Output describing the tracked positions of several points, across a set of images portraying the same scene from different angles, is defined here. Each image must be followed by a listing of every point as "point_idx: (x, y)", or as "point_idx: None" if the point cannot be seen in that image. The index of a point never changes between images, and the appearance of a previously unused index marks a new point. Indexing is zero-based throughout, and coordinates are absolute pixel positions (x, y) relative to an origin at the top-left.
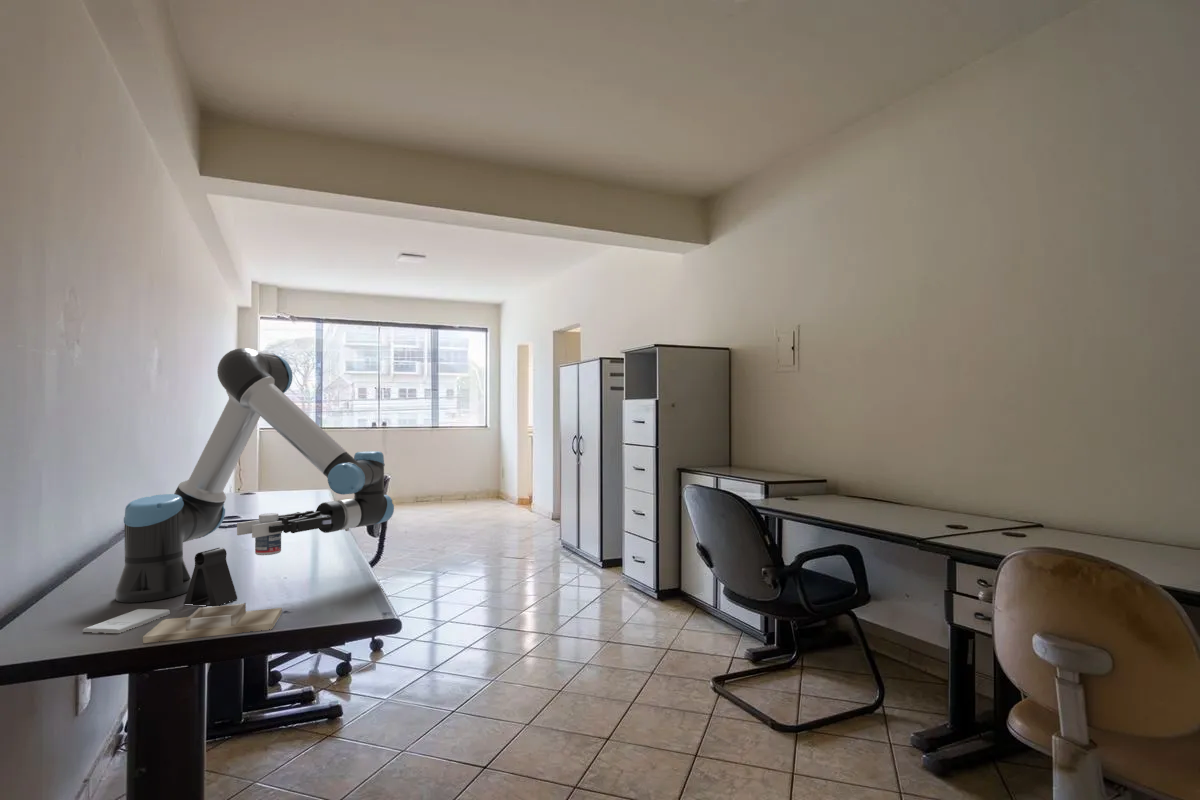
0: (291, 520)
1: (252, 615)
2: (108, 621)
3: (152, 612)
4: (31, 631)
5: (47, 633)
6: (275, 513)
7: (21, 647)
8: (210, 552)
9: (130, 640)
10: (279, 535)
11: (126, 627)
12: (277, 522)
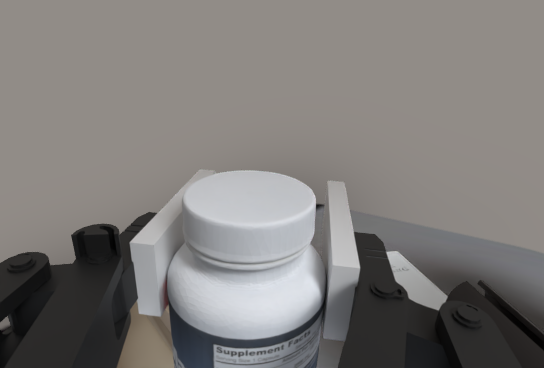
0: (77, 295)
1: (144, 354)
2: (409, 271)
3: None
4: (467, 245)
5: (436, 246)
6: (233, 215)
7: (386, 222)
8: (483, 308)
9: None
10: (172, 335)
11: None
12: (147, 228)
